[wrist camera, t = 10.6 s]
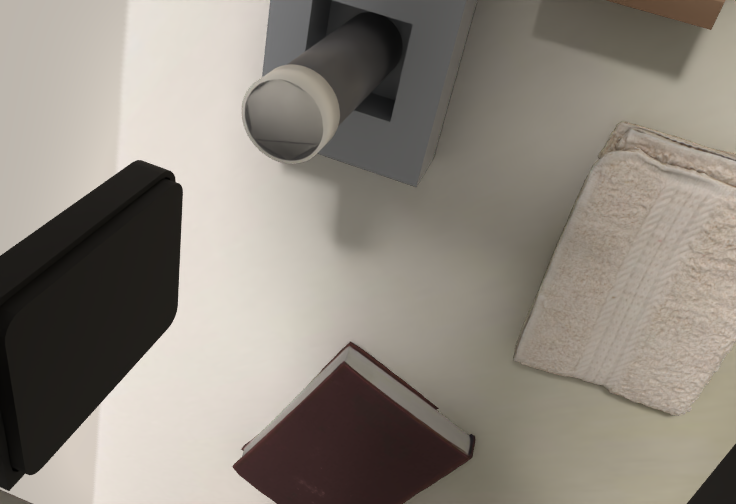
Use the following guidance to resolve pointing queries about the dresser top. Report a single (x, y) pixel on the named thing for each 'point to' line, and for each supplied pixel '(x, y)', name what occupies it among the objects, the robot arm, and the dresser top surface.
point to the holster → (680, 9)
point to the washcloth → (642, 273)
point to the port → (400, 87)
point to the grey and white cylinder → (320, 88)
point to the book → (354, 439)
